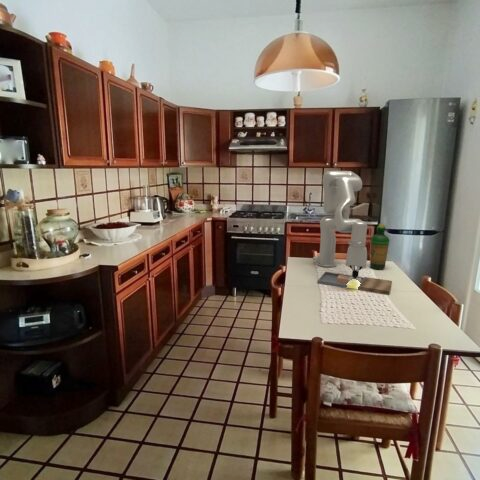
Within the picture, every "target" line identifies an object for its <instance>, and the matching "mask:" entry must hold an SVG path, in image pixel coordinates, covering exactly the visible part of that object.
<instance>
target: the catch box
mask: <svg viewBox="0 0 480 480" xmlns="http://www.w3.org/2000/svg"><path fill="white" fill-rule="evenodd" d="M338 275H344V276H350V277H353V276H352V274H343V273H336V272H330V271H324V272H323V274H321V276H320V277H319V278H318V280H316V281H317V284H320V285H326V286H332V287H337V288H338V287H339V288H344V289H347V288H346V287H347V285H346V284H345V283H339V282H337V277H338ZM364 277H365V276H358V277H357V278H361V284H362V282H363V279H364ZM361 284H360V286H361ZM360 286H359V287H358V290H357V291H361V290H360Z"/></svg>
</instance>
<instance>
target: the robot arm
mask: <svg viewBox="0 0 480 480" xmlns="http://www.w3.org/2000/svg"><path fill="white" fill-rule="evenodd" d="M322 187H323V212H324V213H325V214H327V215H325V216H323V217H321V219H320V221H319V227H320V242H319V256H313V257H312V260H313V261H316V265H317V266H320V267H323V268H334V267H336V266H337V262H336V261H335V259H336V257H335V256H336V246H337V245H336V242H337V238H336V237H337V236H336V235H335V233H334V232H339V233H343V234H345V233H348V234H349V233H351V234H350V240H349V241H347V244H349V245H348V248H347V252H346V260H345V266H346V267H348V268H350V269H351V271H352V274H351V276H353V278H357V277H359V271H361V270H363V269H367V261H368V251H367V250H368V249H367V245H366V243H367V242H366V241H367V232H368V223H367V222H366V221H363V220H361V219H360V218H350V206H353V205H354V204H355V203H356V196H355V192H359V191H361V189H362V187H363V181H362V178H361V176H359V175H358V174H356V173H355V172H353V171H350V170H328V171H326V172H324V174H323V176H322ZM328 214H329V215H328Z"/></svg>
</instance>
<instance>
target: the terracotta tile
mask: <svg viewBox="0 0 480 480" xmlns="http://www.w3.org/2000/svg"><path fill="white" fill-rule="evenodd" d="M344 275H345V274H344ZM344 275H338V277H337V282H339V283H345V284H347V283H348V279H349V278H350V276H344Z"/></svg>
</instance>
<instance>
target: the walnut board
mask: <svg viewBox="0 0 480 480" xmlns="http://www.w3.org/2000/svg"><path fill="white" fill-rule="evenodd" d="M363 277H364V279H363V282H362V284H361V286H360V290H359V291H362V292H367V293H374V294H380V295H387V296H389V295H390V293H391V288H392V282H393V281H392V280H388V279H382V278H381V279H380V278H374V277H369V276H363Z"/></svg>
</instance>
